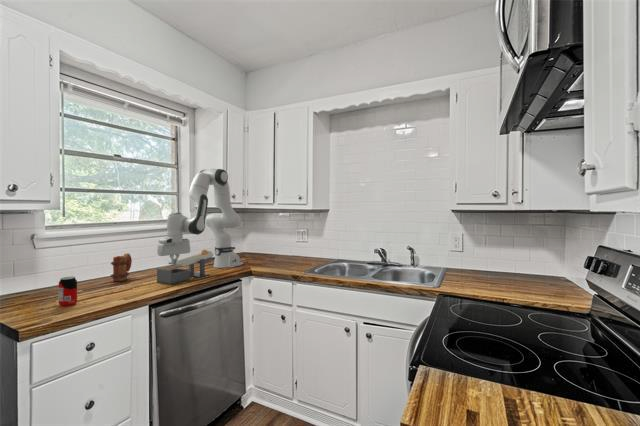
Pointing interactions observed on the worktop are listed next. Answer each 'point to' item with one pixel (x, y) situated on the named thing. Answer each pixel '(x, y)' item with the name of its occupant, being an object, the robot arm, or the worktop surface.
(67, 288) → the beverage can
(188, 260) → the lever
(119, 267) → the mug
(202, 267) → the stand
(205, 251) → the ball
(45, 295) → the worktop surface
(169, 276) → the grey open box
